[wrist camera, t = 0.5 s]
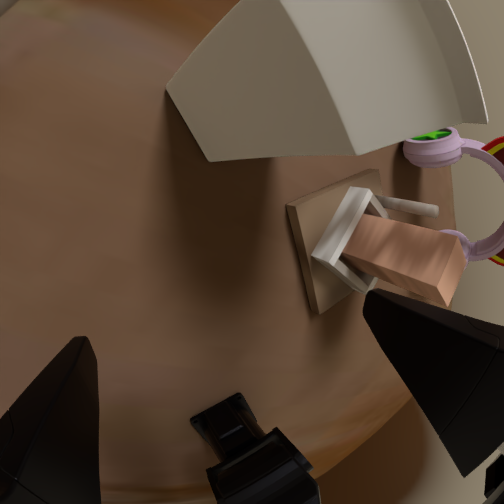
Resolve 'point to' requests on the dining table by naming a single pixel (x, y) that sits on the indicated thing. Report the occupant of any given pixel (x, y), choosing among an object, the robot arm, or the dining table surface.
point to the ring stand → (340, 234)
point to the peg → (407, 256)
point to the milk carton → (326, 78)
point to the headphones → (449, 152)
